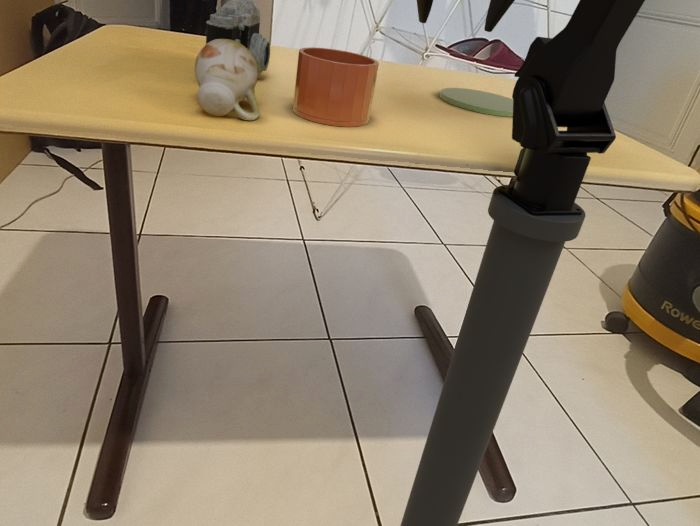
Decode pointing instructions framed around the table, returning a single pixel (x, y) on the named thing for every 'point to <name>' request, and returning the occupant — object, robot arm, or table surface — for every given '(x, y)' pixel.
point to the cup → (334, 86)
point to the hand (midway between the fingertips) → (455, 27)
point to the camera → (240, 29)
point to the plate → (478, 101)
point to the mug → (226, 78)
